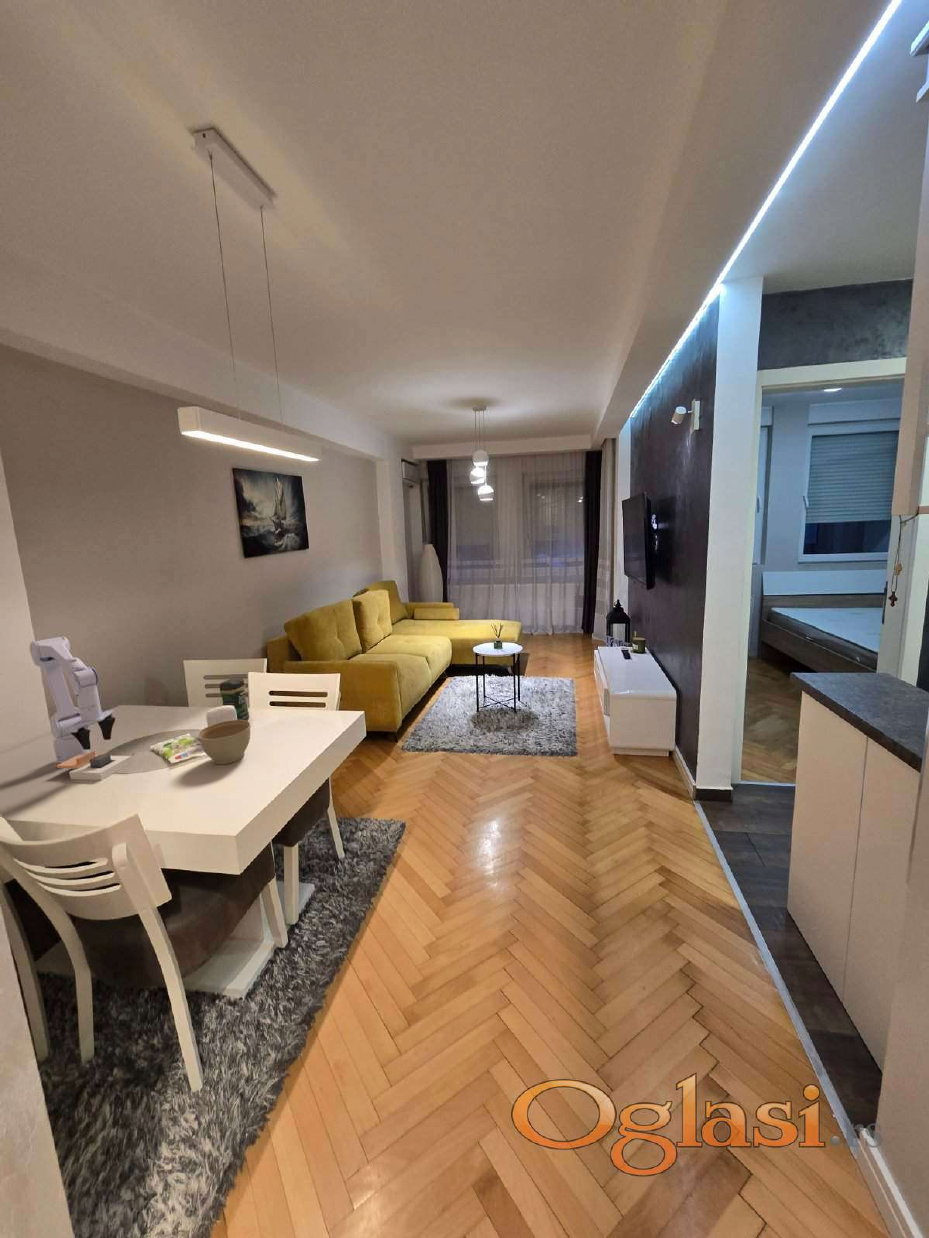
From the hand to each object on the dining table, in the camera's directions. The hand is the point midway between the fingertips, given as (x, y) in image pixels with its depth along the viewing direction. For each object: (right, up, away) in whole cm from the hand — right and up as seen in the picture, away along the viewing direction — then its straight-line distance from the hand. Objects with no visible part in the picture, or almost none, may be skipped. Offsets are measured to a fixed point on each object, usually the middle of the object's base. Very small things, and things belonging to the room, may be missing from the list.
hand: (97, 744), depth 167 cm
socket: (+1, -9, +1) cm, 9 cm away
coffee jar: (+29, -1, +39) cm, 49 cm away
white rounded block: (+31, -4, +23) cm, 39 cm away
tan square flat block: (-8, -7, +3) cm, 11 cm away
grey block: (+1, -9, +1) cm, 10 cm away
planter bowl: (+42, -6, +4) cm, 43 cm away
